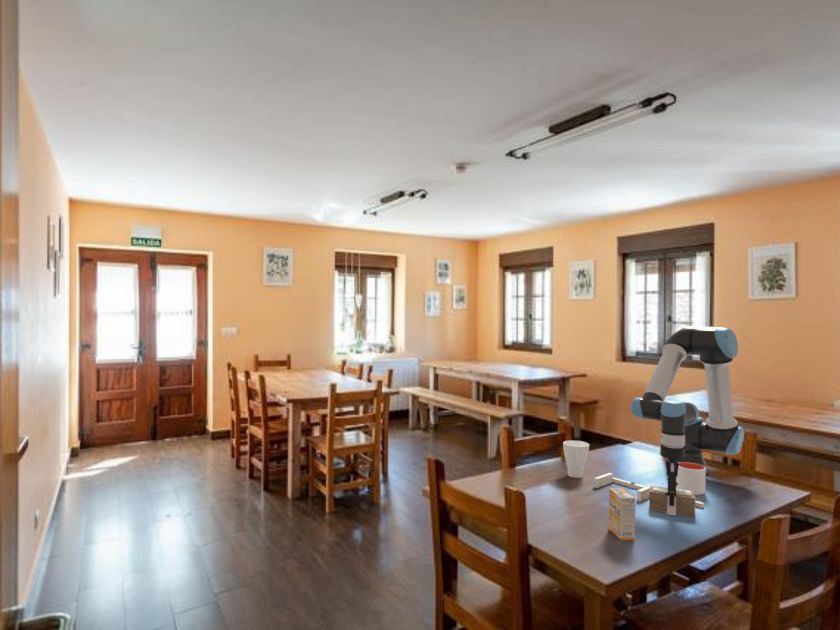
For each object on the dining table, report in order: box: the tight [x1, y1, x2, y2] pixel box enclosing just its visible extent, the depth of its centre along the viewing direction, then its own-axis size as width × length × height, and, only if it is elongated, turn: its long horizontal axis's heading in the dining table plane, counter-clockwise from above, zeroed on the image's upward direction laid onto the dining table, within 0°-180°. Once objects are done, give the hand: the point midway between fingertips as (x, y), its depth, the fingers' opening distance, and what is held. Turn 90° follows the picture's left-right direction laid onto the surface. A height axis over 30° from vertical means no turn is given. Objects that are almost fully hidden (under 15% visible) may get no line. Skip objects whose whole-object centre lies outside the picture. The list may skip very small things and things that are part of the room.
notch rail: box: [593, 472, 705, 509], centre depth 191 cm, size 12×36×4 cm, turn 39°
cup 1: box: [562, 440, 590, 479], centre depth 214 cm, size 10×10×14 cm
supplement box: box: [608, 487, 636, 541], centre depth 158 cm, size 8×5×13 cm, turn 5°
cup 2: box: [676, 462, 707, 496], centre depth 197 cm, size 10×10×10 cm
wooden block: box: [648, 484, 696, 518], centre depth 179 cm, size 7×14×7 cm, turn 64°
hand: (671, 509), depth 179 cm, fingers open, 10 cm apart
